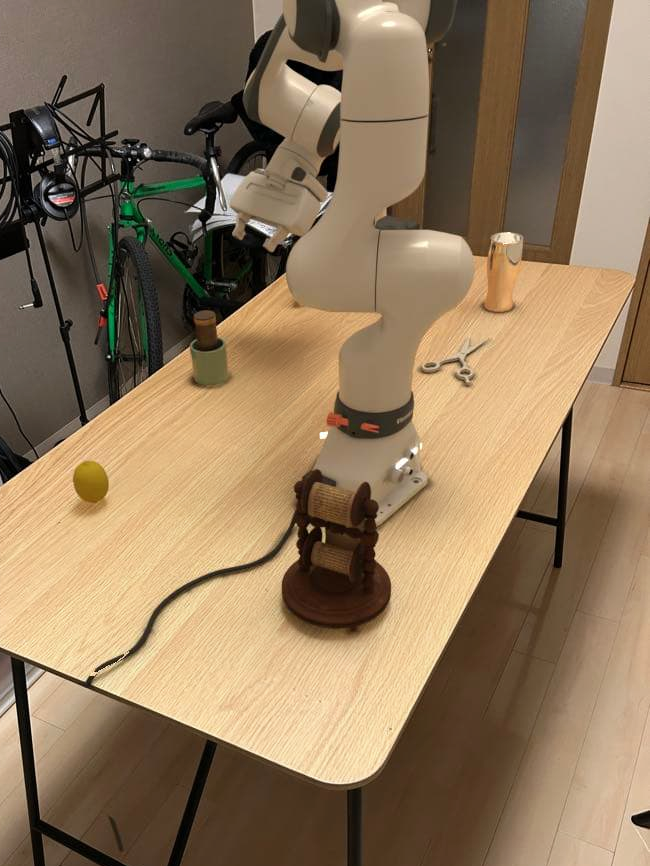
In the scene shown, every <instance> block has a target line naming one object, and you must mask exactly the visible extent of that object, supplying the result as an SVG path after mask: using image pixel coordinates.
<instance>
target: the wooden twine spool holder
mask: <svg viewBox="0 0 650 866" xmlns="http://www.w3.org/2000/svg"><path fill="white" fill-rule="evenodd" d="M312 470H313V469H312ZM322 482H323V479H322V473H321V471H320V470H318V469H315V470H313V471H312V472H311V473H310V474H309V475H308V477H307V479H306V481H302V480H298V481H296V482H295V483H294V485H293V492H294V493H295V499H296V501H297V502H296V505H295V510H296V509H297V511H296V513H295V515H294V522H295V525H296V527H297V528H298V530H297V532H296V533H297V534H296V535H297V538H298V539H297V540H296V543H295V545H296V549H298V551H297V554H298V559H297V560H296V561H295V562H293V563H292V564H291V565H289V567H288V568H287V570H285V573H284V575H283V577H282V580H281V597H282V600H283V603H284V606H285V608H286V609H287V610H288V611H289V612H290V613H291V614H292V615H293V616H294V617H296V618H297V619H298V620H300V621H301V622H304V623H306V624H308V625H311V626H314V627H317V628H322V629H328V630H346V629H349V630H350V632H352V633H355V632H356V631H357V629H358V627H360V626H363V625H365V624H368V623H370V622H371V621H373V620H375V619H376V618H378V617H379V616H380V615H381V614H382V613H383V612H384V611H385V610H386V608H387V606H388V605H389V603H390V600H391V596H392V581H391V578H390V575H389V574H388V572H387V570H386V569H385V567H383V566H382V564H380V562H378V561H377V560H376V559H375V558H376V551H375V548H376V545H377V543H378V541H379V538H380V533H379V531H378V530H377V527H378V526H377V525H376V522H375V519H376V518H377V514H376V513H377V512H378V510H379V505H378V503H377V502H376V501H375V500H373V499H371V487H370V485H369V483H368V482H363V483H362V484H361V485H360V486H359V488H358V490H357V492H352V491H349V490H345V489H341V488H337V487H334V486H330V485H326V484H322ZM323 519H324V520H323ZM310 525H311V527H312V529H311V530H310V531H309V530H308V527H309V526H310ZM322 528H324V533H325V534H323V529H322ZM323 535H325V536H323ZM323 537H324V542H323Z"/></svg>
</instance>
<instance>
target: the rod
mask: <svg viewBox="0 0 650 866" xmlns="http://www.w3.org/2000/svg"><path fill="white" fill-rule="evenodd" d="M216 317H217V316H216V313H215V312H214V311H213V310H200V311H197V312H195V313H194V314H193V321H194V327H195V329H194V330H195V335H196V337H195V338H196V339H197V345H198V351H201V352H208V351H214V350H217V349H219V348H218V338H217V337H218V331H217V330H218V329H217V318H216Z"/></svg>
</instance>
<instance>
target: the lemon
mask: <svg viewBox="0 0 650 866" xmlns="http://www.w3.org/2000/svg"><path fill="white" fill-rule="evenodd" d="M72 482H73V488H74V490H75V493H76V495H77V496H78V497H79V499H81V500H82V501H84V502H87V503H94V504H96V503H98V502H100V501H102V500H103V499H104V498H105V497H106V496H107V494H108V491H109V487H110V486H109V484H110V483H109V482H110V481H109V476H108V474H107V472H106V470H105V468H104V466H102V465H101V464H100V463H98V461H94V460H84V461H81V462H80V463H79V464H78V465H76V467H75V468H74V471H73V475H72Z"/></svg>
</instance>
